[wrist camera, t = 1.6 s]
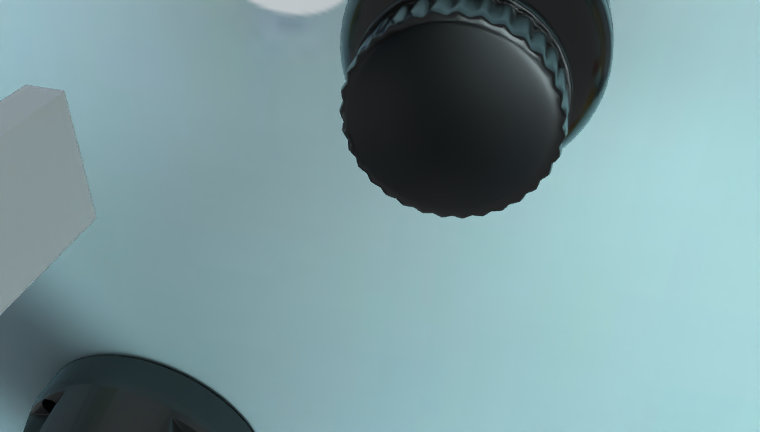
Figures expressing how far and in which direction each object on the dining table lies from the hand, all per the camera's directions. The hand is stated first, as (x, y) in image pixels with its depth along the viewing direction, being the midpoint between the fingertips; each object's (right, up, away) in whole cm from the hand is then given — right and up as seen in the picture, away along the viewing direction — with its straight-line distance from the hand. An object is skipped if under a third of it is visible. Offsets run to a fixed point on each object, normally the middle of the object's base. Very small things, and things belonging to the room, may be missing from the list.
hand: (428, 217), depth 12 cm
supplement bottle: (+3, +9, +13) cm, 16 cm away
